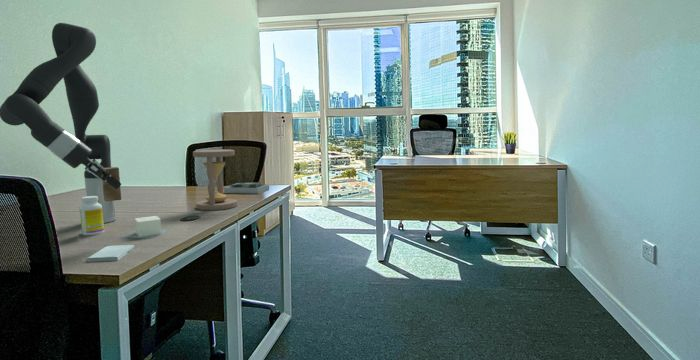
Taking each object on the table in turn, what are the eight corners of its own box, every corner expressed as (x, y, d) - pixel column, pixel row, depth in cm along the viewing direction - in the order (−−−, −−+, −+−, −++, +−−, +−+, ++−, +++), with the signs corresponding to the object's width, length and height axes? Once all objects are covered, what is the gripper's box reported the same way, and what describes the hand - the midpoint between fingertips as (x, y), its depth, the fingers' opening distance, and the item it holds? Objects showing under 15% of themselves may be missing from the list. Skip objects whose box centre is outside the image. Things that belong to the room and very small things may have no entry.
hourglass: (209, 202, 210) (205, 149, 207) (243, 203, 207) (241, 149, 204) (188, 210, 193) (184, 152, 190) (225, 210, 190) (222, 152, 186)
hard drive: (117, 256, 123) (134, 244, 135) (85, 258, 122) (105, 245, 134) (118, 262, 123) (134, 249, 135) (86, 264, 122) (106, 250, 134)
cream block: (138, 237, 146) (137, 222, 146) (135, 232, 152) (134, 218, 151) (161, 233, 150) (160, 219, 149) (157, 229, 156) (156, 215, 155)
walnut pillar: (105, 201, 138) (102, 169, 137) (103, 199, 142) (101, 168, 141) (121, 199, 141) (118, 168, 139) (119, 197, 144) (117, 167, 143)
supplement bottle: (108, 232, 155) (105, 195, 153) (91, 237, 149) (87, 199, 147) (95, 230, 158) (92, 194, 156) (77, 235, 152) (74, 197, 150)
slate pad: (120, 238, 147) (120, 237, 146) (144, 229, 158) (144, 228, 158) (150, 239, 144) (150, 238, 144) (172, 230, 156) (172, 229, 156)
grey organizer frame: (224, 193, 239) (223, 187, 238) (236, 188, 253) (236, 183, 253) (258, 193, 235) (258, 187, 234) (269, 189, 249) (269, 184, 248)
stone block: (238, 191, 248) (238, 181, 247) (263, 191, 244) (262, 181, 244) (231, 193, 239) (230, 183, 238) (256, 193, 236) (256, 184, 235)
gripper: (80, 140, 129) (129, 179, 137) (78, 139, 141) (124, 174, 149) (60, 160, 127) (111, 198, 135) (60, 157, 139) (107, 191, 147)
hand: (118, 185), depth 142 cm, fingers closed on walnut pillar, 4 cm apart
